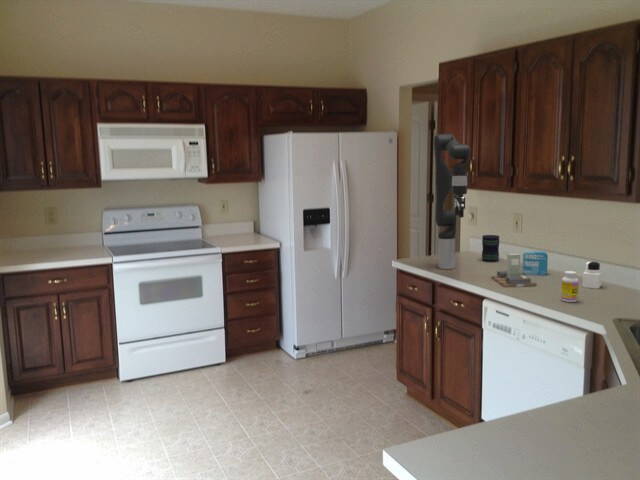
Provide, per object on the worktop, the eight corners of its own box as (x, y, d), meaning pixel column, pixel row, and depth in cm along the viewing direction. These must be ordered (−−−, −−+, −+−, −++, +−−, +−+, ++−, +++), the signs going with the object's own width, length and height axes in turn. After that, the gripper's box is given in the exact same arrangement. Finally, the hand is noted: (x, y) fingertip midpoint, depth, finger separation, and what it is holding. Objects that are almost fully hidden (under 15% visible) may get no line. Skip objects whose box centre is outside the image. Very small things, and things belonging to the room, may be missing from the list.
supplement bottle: (572, 303, 245) (573, 274, 243) (558, 300, 250) (559, 272, 248) (580, 300, 248) (581, 272, 246) (566, 297, 254) (567, 269, 252)
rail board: (491, 277, 295) (491, 270, 295) (521, 277, 296) (522, 269, 295) (503, 287, 276) (504, 279, 275) (536, 286, 276) (536, 278, 275)
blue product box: (522, 274, 301) (523, 252, 299) (522, 272, 305) (523, 250, 303) (547, 275, 298) (547, 253, 296) (546, 273, 302) (547, 251, 300)
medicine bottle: (601, 285, 273) (602, 261, 271) (598, 289, 267) (599, 264, 265) (584, 284, 277) (586, 260, 275) (582, 287, 271) (583, 262, 269)
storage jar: (478, 259, 343) (479, 235, 341) (493, 258, 345) (494, 234, 342) (486, 262, 333) (487, 237, 331) (502, 261, 335) (502, 236, 333)
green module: (506, 278, 288) (507, 253, 286) (516, 278, 288) (517, 253, 286) (509, 280, 283) (510, 255, 281) (519, 280, 283) (520, 255, 281)
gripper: (470, 185, 280) (470, 217, 283) (463, 183, 295) (462, 214, 297) (455, 185, 280) (455, 218, 283) (448, 183, 295) (448, 214, 297)
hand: (459, 216), depth 290 cm, fingers open, 8 cm apart
